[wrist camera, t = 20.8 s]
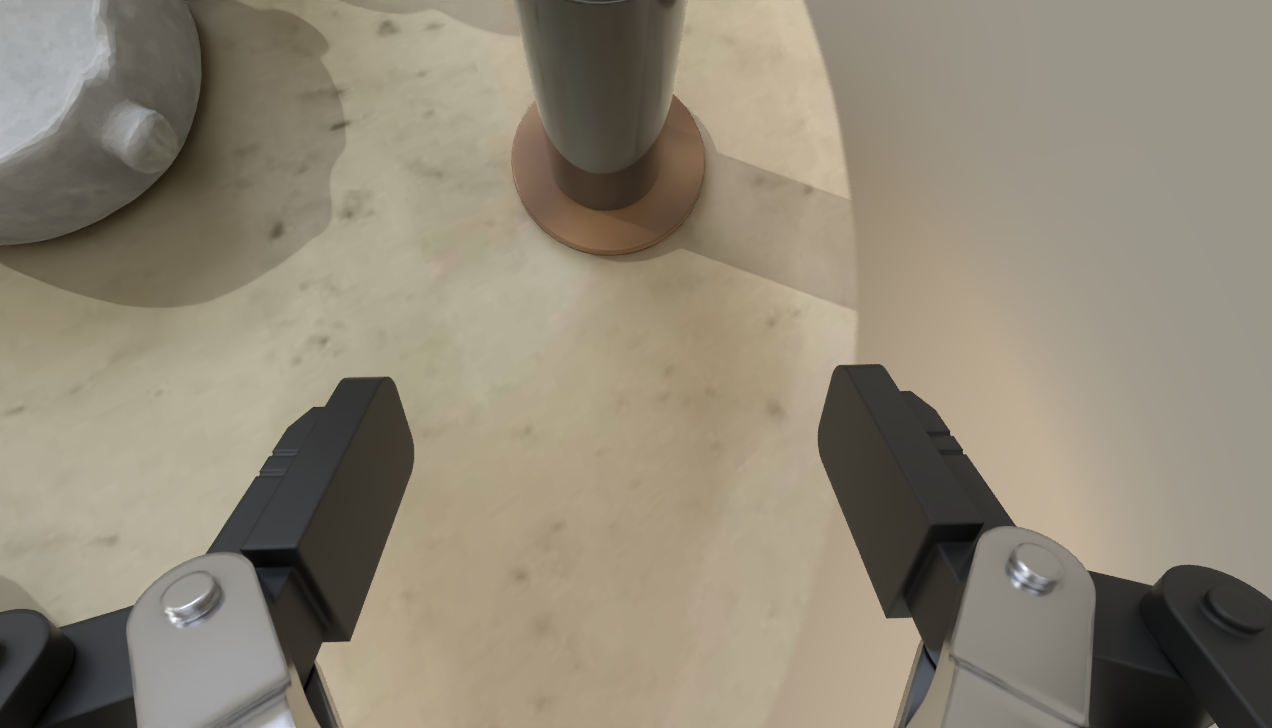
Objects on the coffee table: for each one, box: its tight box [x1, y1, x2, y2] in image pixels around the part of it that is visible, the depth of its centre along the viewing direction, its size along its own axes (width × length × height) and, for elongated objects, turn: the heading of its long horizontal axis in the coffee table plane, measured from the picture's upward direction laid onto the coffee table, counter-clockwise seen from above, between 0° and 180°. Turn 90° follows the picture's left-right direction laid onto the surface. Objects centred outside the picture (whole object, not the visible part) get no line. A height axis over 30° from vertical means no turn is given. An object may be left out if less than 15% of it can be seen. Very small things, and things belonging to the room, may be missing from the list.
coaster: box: [512, 95, 705, 255], centre depth 24 cm, size 8×8×1 cm
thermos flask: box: [513, 0, 688, 210], centre depth 18 cm, size 5×5×12 cm
